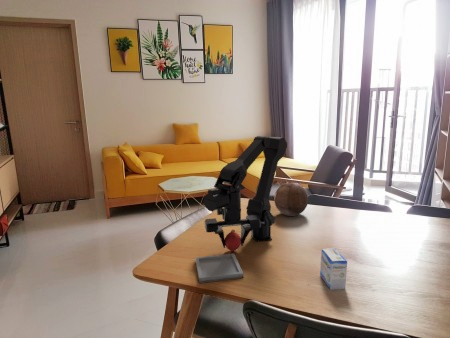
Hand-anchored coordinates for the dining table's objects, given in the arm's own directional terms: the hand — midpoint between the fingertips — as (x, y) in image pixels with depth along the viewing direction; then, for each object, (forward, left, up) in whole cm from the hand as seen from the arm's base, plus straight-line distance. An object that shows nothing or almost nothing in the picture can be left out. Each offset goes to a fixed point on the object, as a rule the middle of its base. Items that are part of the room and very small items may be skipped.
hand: (232, 246), depth 112 cm
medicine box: (-24, +25, -2) cm, 35 cm away
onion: (0, 0, -2) cm, 2 cm away
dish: (+7, +11, -2) cm, 13 cm away
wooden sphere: (-33, -30, -2) cm, 45 cm away
